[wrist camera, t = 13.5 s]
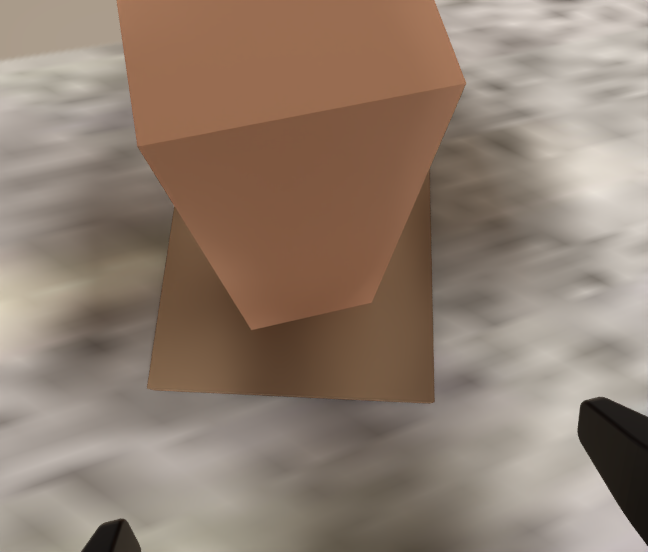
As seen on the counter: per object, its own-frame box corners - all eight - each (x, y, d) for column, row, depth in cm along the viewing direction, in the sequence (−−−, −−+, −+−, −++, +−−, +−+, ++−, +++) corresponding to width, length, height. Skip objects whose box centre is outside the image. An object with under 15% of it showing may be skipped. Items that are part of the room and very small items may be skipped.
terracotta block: (371, 302, 18) (466, 83, 7) (251, 330, 18) (137, 146, 6) (342, 195, 20) (380, -141, 8) (229, 218, 19) (102, -99, 8)
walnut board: (424, 160, 21) (429, 150, 20) (429, 403, 18) (434, 402, 17) (189, 149, 21) (184, 138, 20) (154, 390, 18) (146, 388, 17)
